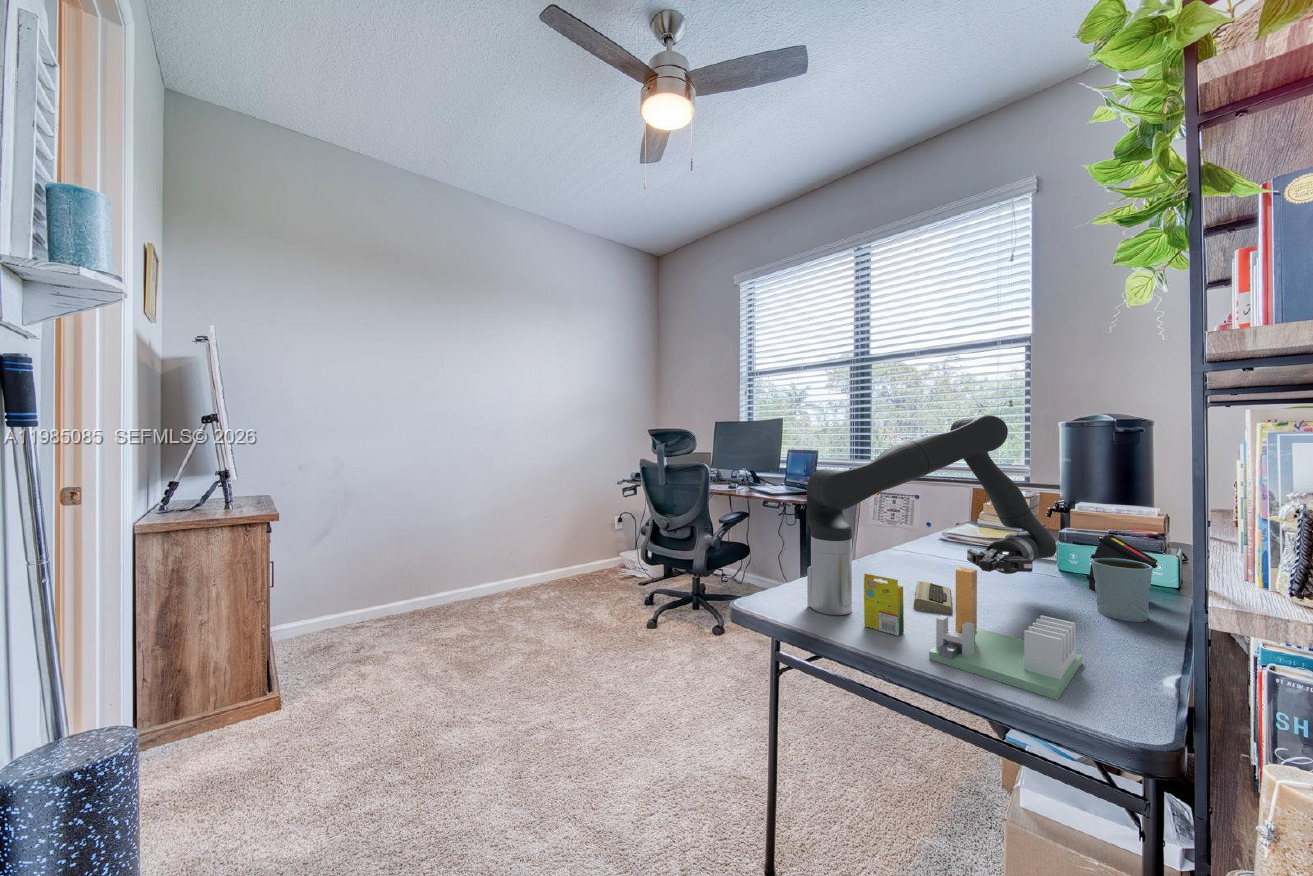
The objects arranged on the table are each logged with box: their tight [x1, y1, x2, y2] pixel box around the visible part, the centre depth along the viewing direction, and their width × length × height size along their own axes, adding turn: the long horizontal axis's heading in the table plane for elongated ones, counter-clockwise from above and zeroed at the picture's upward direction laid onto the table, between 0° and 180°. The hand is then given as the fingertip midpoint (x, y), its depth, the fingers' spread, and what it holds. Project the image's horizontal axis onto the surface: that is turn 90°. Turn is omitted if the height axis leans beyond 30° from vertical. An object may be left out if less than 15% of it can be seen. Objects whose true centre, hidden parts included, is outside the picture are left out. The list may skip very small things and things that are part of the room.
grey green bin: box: [1091, 558, 1154, 623], centre depth 115 cm, size 10×10×12 cm
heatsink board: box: [928, 614, 1083, 701], centre depth 93 cm, size 19×19×8 cm
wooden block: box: [939, 566, 978, 659], centre depth 95 cm, size 3×12×14 cm, turn 131°
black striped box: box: [1086, 534, 1159, 591], centre depth 129 cm, size 4×13×15 cm, turn 19°
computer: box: [912, 581, 953, 615], centre depth 125 cm, size 16×8×3 cm, turn 151°
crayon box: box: [863, 573, 905, 637], centre depth 107 cm, size 7×3×12 cm, turn 43°
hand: (985, 566), depth 105 cm, fingers closed
